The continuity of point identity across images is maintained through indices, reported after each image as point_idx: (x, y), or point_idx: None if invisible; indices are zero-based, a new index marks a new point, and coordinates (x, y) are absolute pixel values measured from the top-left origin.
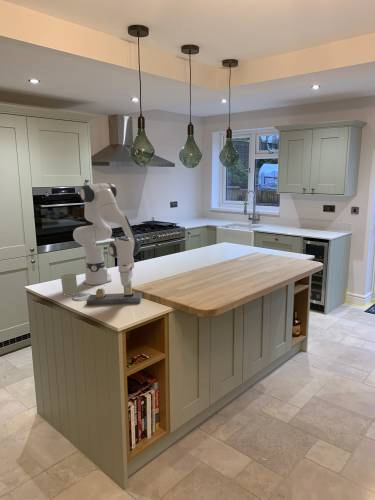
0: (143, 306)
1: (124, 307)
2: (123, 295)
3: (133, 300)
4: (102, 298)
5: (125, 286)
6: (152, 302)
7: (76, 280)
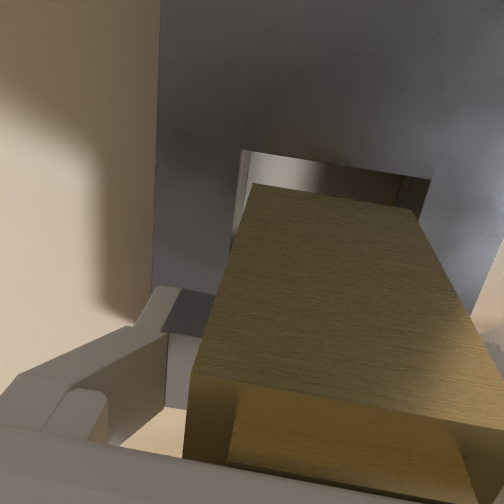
0: (45, 359)
1: (18, 133)
2: (372, 152)
3: None
4: None
5: (84, 352)
6: (166, 450)
7: None
